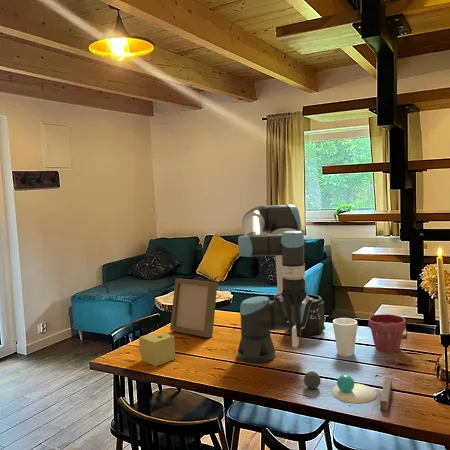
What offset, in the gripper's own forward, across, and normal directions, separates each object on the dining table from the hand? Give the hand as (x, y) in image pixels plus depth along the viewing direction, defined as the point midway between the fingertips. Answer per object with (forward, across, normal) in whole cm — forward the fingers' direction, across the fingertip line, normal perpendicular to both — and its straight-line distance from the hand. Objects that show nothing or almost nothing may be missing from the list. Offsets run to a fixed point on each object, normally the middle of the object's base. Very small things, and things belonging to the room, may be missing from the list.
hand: (295, 345), depth 157 cm
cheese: (+14, -58, +5) cm, 60 cm away
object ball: (+11, +16, 0) cm, 20 cm away
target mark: (+14, +19, 0) cm, 23 cm away
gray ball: (+11, +6, -1) cm, 12 cm away
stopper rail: (+14, +29, 0) cm, 32 cm away
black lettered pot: (+14, -11, +56) cm, 59 cm away
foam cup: (+14, +11, +34) cm, 38 cm away
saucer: (+15, +28, +63) cm, 70 cm away
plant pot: (+14, +26, +43) cm, 52 cm away
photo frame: (+14, -59, +42) cm, 74 cm away
